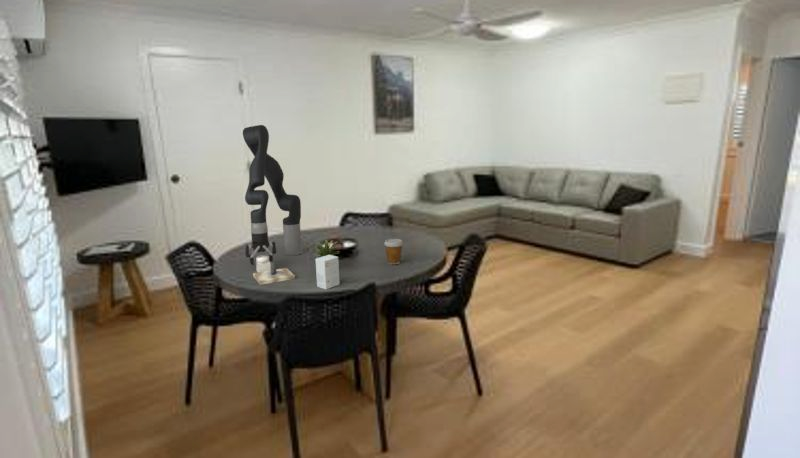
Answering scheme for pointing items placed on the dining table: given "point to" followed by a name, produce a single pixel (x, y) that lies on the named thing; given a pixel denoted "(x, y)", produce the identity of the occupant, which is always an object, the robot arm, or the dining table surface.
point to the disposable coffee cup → (393, 250)
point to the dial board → (273, 275)
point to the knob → (262, 263)
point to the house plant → (326, 249)
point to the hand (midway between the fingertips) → (261, 263)
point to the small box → (327, 271)
